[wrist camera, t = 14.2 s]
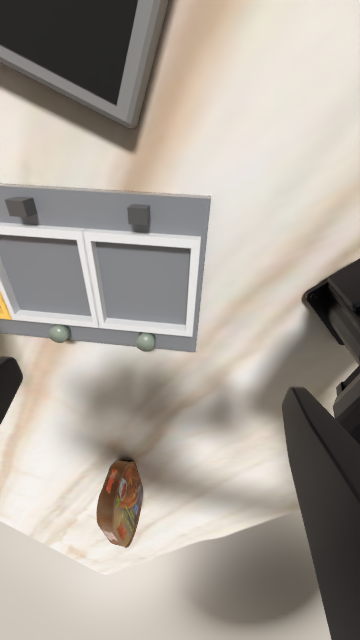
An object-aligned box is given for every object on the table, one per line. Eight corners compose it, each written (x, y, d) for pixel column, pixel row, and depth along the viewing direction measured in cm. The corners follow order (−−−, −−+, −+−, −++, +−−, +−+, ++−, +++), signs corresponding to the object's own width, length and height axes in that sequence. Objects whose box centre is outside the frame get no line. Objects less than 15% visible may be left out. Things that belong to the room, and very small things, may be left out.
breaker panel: (210, 196, 17) (210, 202, 15) (195, 345, 24) (194, 361, 22) (-135, 175, 18) (-173, 178, 16) (-49, 321, 26) (-68, 334, 24)
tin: (145, 494, 45) (133, 556, 38) (128, 492, 46) (113, 554, 39) (131, 449, 37) (113, 519, 30) (111, 448, 37) (88, 517, 30)
